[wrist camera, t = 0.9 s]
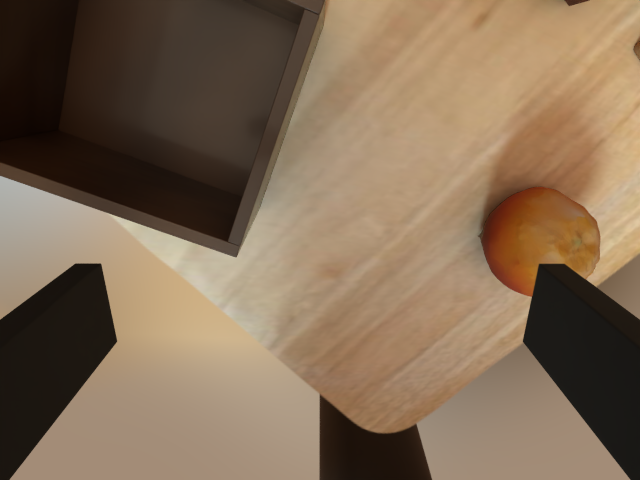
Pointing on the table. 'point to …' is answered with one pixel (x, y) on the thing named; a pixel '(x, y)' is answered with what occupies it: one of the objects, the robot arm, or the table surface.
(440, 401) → the table surface
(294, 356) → the table surface
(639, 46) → the gingerbread man figurine
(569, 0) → the diary
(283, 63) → the chest
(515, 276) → the fruit
